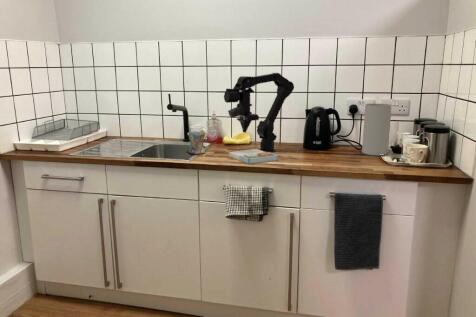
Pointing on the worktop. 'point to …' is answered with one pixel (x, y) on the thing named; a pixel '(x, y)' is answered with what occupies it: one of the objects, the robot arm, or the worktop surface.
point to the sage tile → (250, 156)
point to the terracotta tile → (264, 154)
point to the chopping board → (236, 153)
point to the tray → (258, 159)
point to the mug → (196, 142)
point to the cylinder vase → (376, 129)
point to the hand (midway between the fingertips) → (244, 132)
